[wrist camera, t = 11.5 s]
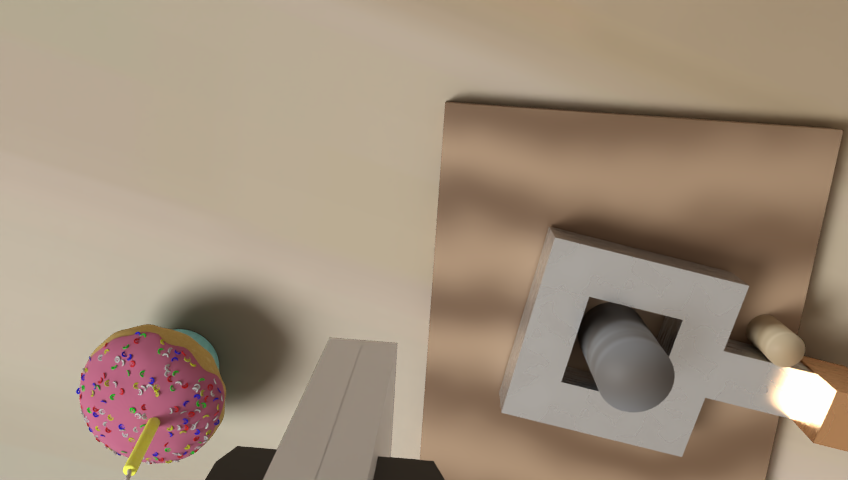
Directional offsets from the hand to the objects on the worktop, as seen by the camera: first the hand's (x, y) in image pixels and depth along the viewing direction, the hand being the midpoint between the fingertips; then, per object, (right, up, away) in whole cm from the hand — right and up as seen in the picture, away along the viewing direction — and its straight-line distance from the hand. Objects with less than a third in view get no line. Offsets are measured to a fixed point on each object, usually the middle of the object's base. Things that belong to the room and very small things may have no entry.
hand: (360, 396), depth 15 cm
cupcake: (-14, -5, +30) cm, 33 cm away
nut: (+17, -3, +26) cm, 31 cm away
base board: (+13, -2, +27) cm, 30 cm away
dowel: (+22, -2, +25) cm, 33 cm away
